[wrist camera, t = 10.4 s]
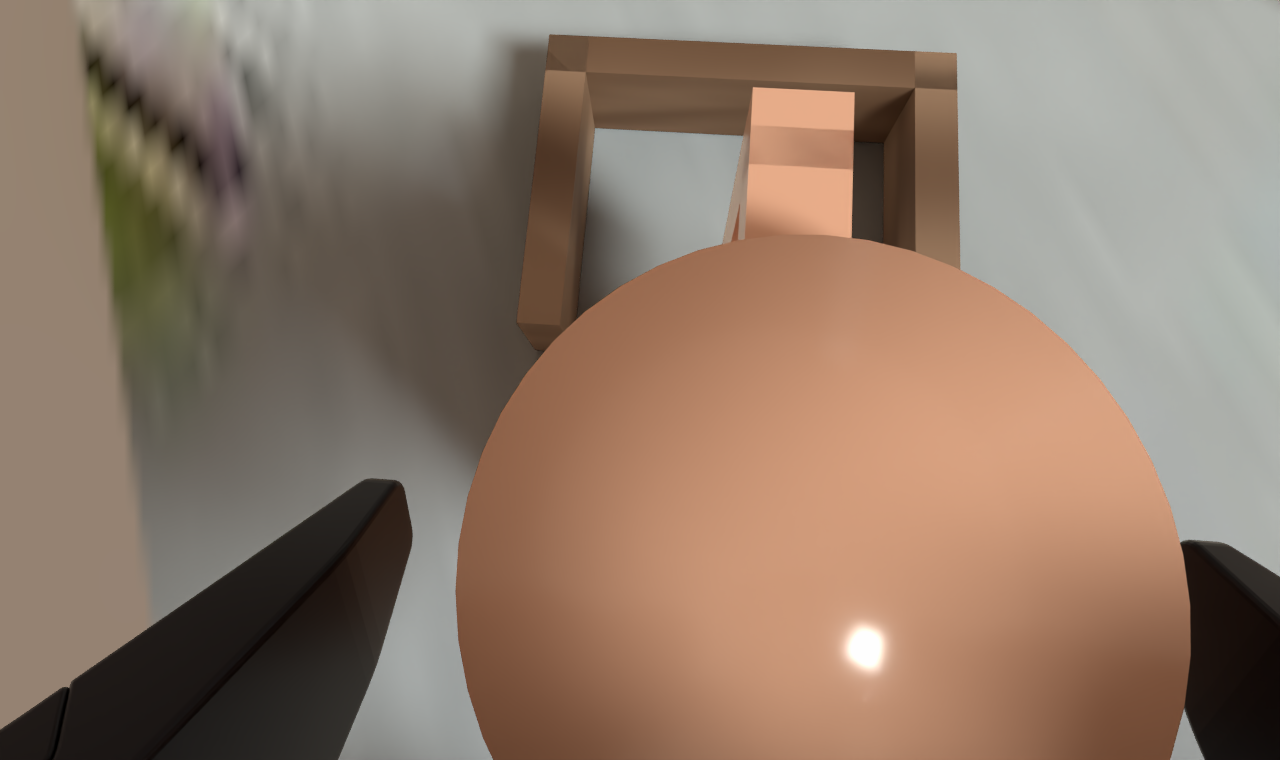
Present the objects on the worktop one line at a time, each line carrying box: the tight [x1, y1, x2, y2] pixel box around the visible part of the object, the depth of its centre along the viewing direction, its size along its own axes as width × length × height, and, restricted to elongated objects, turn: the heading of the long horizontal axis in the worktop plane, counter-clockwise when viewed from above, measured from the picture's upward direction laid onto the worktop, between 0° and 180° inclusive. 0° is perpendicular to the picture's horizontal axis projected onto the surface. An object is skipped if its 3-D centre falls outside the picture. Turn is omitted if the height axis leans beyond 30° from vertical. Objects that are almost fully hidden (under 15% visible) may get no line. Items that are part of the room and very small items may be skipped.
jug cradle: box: [516, 35, 960, 351], centre depth 18 cm, size 8×10×2 cm
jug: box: [456, 87, 1191, 760], centre depth 12 cm, size 8×6×12 cm
